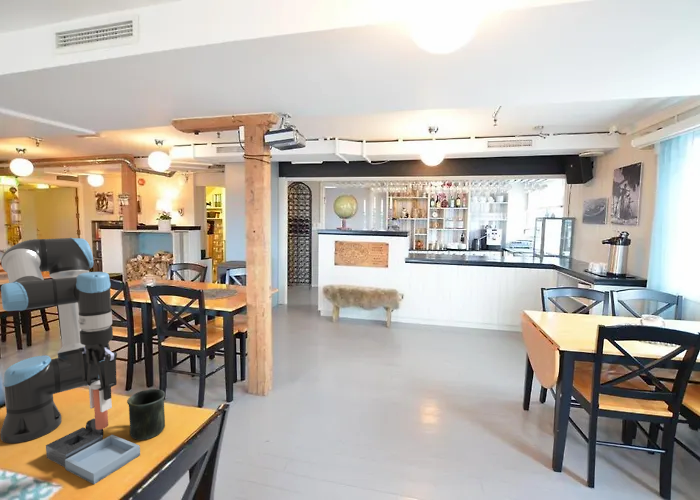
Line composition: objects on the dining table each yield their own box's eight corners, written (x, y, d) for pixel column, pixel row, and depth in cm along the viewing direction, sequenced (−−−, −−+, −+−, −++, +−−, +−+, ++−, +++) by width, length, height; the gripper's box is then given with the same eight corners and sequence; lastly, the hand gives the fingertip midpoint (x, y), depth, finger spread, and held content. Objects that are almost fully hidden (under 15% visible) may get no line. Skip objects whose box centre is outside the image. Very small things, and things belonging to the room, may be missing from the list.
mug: (136, 446, 111) (135, 409, 110) (119, 428, 121) (117, 394, 120) (172, 430, 120) (171, 396, 119) (153, 415, 129) (152, 382, 128)
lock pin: (90, 428, 102) (87, 384, 101) (104, 421, 106) (102, 378, 104) (99, 432, 100) (96, 387, 99) (113, 424, 104) (111, 381, 103)
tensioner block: (46, 458, 106) (44, 434, 105) (88, 436, 116) (87, 414, 116) (66, 468, 102) (64, 443, 101) (108, 444, 112) (107, 421, 111)
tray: (65, 469, 101) (64, 459, 101) (112, 443, 113) (111, 434, 112) (94, 484, 96) (93, 473, 95) (140, 455, 107) (139, 445, 107)
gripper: (63, 327, 101) (68, 407, 103) (101, 335, 94) (106, 421, 96) (91, 320, 107) (96, 395, 109) (129, 327, 100) (133, 408, 102)
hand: (101, 407), depth 102 cm, fingers closed on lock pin, 4 cm apart
